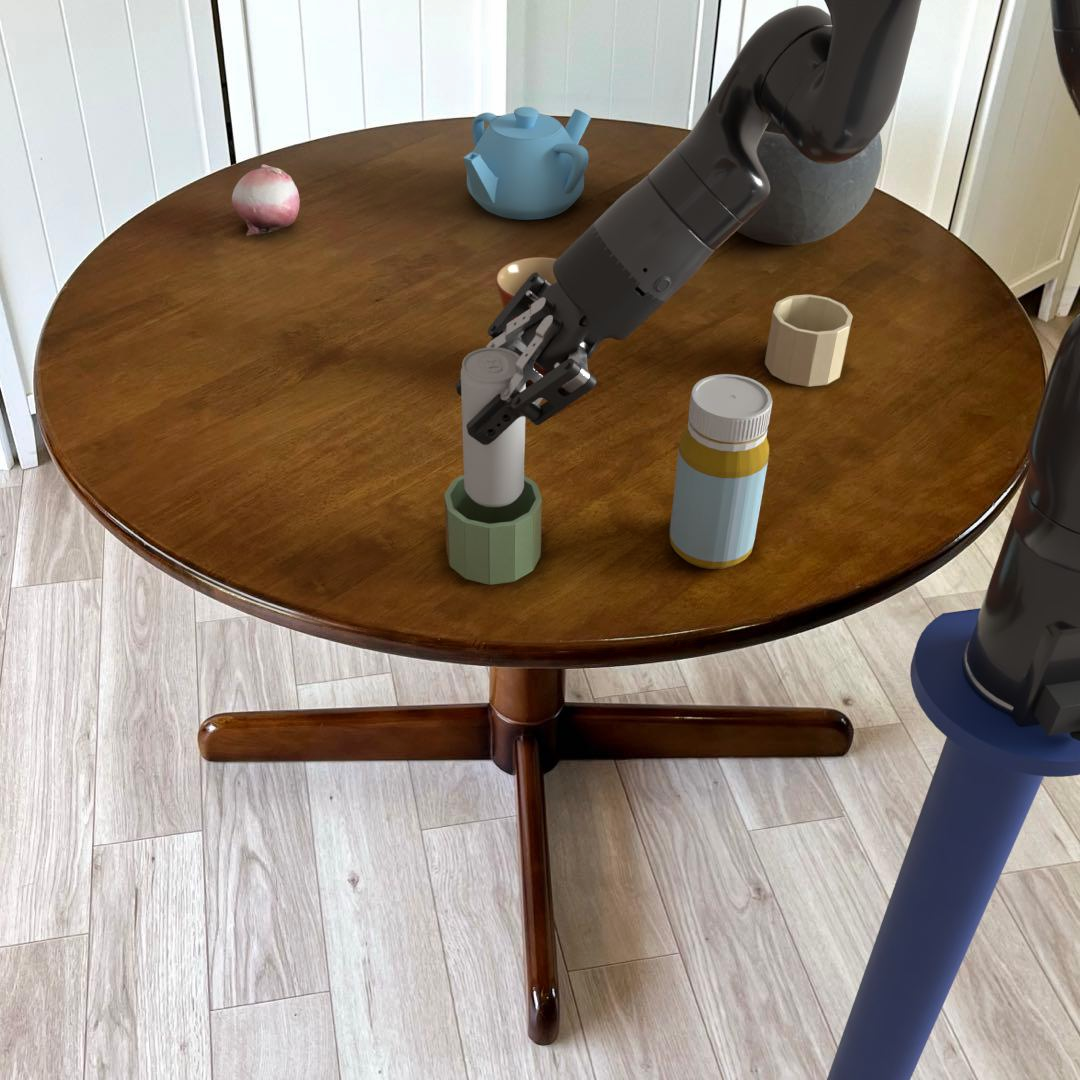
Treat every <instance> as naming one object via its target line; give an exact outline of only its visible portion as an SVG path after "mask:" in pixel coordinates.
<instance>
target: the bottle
mask: <svg viewBox="0 0 1080 1080" xmlns="http://www.w3.org/2000/svg"><path fill="white" fill-rule="evenodd" d="M772 406H773V397H772V394H771V392H770V390H768V388H767V387H766V386H765V385H764V384H762V383H760V382H759V381H757V380H755V379H753V378H751V377H747V376H744V375H739V374H731V373H730V374H729V373H721V374H714V375H710V376H709V375H708V376H706V377H704V378H702V379H700V380H699V381H697V382H696V383H695V384H694V386H693V387H692V390H691V392H690V400H689V406H688V418H687V419H688V421H687V426H686V428H685V429H684V431H683V433H682V435H681V437H680V441H679V446H678V453H677V462H676V463H677V464H676V471H675V472H676V473H675V481H674V490H673V498H672V506H671V507H672V508H671V515H670V525H669V541H670V545H671V547H672V548H673V551H674V552H675V553H676V554H677V555H678V556H679V557H681V558H682V559H683V560H685V562H687V563H689V564H690V565H693V566H695V567H697V568H702V569H705V570H724V569H728V568H731V567H733V566H736V565H738V564H740V563H741V562H743V561H745V560H746V559H748V557H749V556H750V555H751V553H752V551H753V547H754V544H755V539H756V533H757V529H758V522H759V516H760V510H761V505H762V499H763V492H764V488H765V481H766V476H767V469H768V464H769V458H770V444H769V440H768V437H767V435H768V430H769V428H768V426H769V424H770V419H771V413H772Z"/></svg>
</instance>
